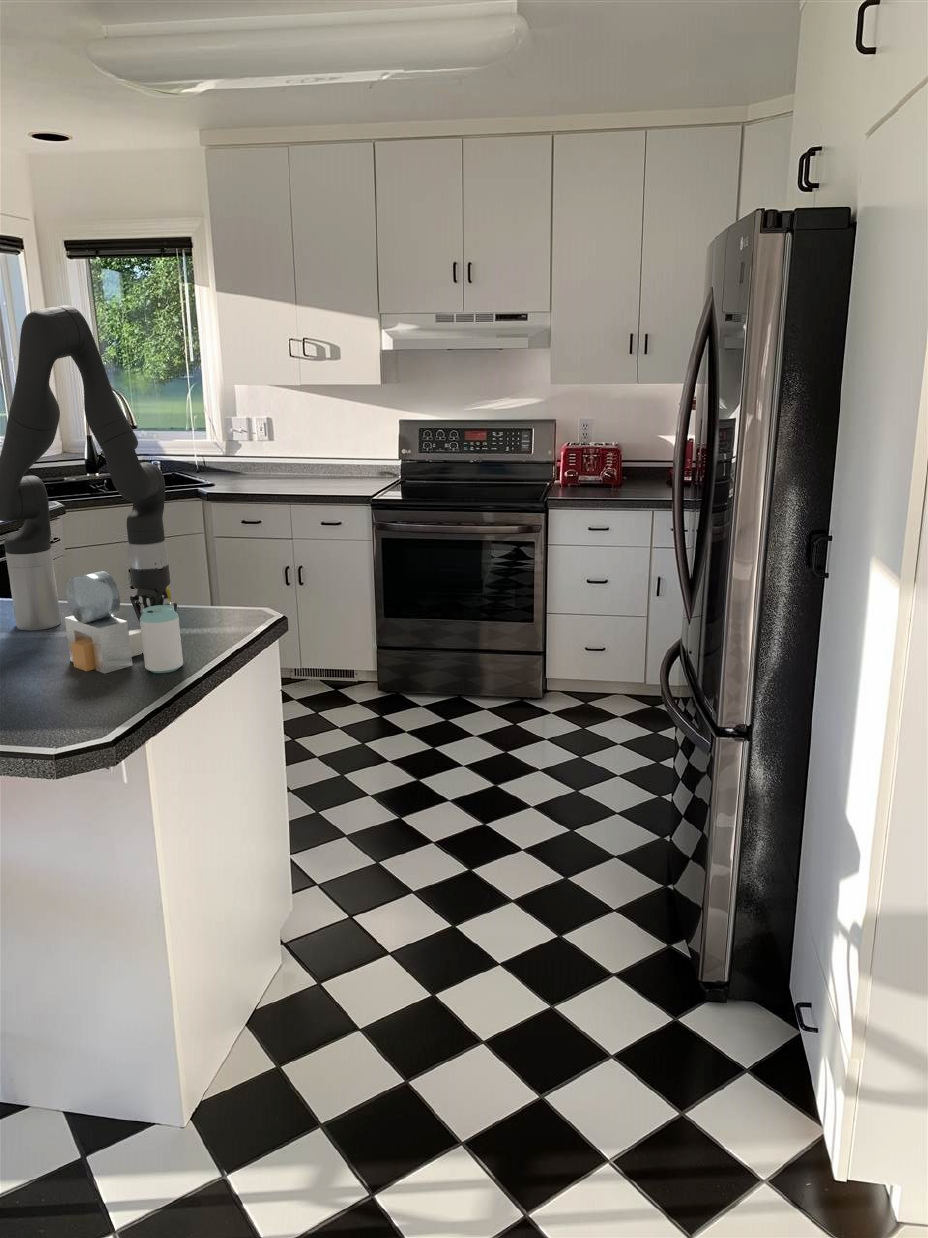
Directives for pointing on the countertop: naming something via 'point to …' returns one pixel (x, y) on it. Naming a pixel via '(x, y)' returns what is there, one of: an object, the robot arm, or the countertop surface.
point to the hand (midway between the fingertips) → (157, 644)
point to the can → (161, 639)
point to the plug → (85, 651)
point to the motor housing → (98, 620)
